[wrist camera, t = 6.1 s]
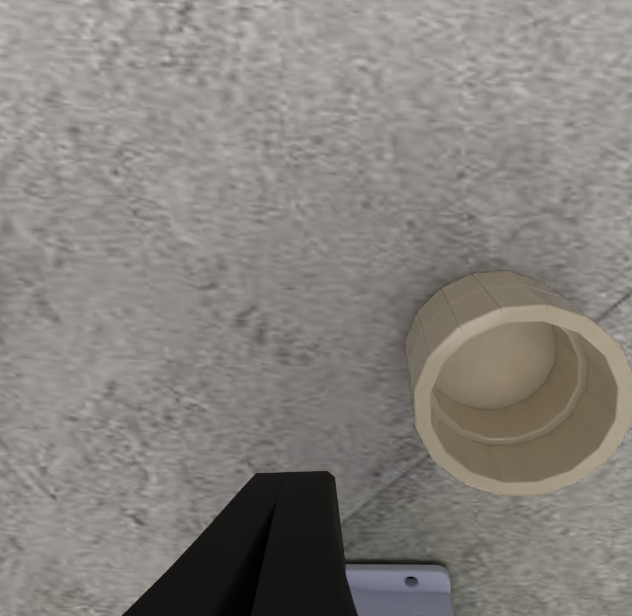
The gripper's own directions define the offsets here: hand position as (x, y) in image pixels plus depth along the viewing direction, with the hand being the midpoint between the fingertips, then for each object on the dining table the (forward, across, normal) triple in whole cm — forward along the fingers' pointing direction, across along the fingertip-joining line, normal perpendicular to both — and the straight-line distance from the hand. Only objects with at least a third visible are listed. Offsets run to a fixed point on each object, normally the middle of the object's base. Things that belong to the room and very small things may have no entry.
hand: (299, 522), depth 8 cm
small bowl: (+9, -5, +1) cm, 11 cm away
